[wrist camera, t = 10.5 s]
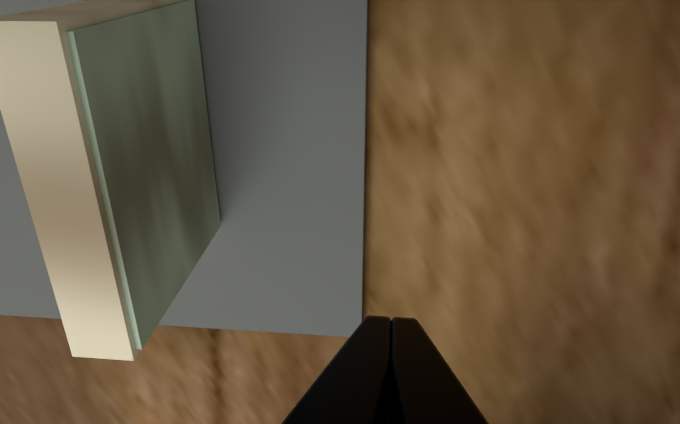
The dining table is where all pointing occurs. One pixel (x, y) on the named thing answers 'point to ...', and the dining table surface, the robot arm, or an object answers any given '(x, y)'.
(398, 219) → the dining table surface
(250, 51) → the mat
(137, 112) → the tile
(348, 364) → the robot arm
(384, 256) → the dining table surface
